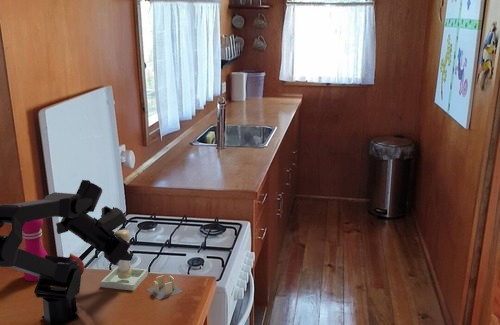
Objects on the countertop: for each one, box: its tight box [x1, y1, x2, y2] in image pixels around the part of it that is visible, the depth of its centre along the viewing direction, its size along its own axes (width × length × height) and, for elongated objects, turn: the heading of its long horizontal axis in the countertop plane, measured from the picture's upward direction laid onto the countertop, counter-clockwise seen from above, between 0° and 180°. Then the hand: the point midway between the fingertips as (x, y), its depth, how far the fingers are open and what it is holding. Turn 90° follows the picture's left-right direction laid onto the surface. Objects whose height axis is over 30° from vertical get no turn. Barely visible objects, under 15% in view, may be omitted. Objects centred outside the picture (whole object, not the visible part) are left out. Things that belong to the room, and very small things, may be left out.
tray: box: [100, 266, 149, 292], centre depth 133 cm, size 9×9×3 cm
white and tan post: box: [114, 229, 132, 279], centre depth 131 cm, size 4×4×12 cm
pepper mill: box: [22, 219, 48, 282], centre depth 136 cm, size 7×7×20 cm
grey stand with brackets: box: [146, 274, 184, 300], centre depth 127 cm, size 7×7×4 cm
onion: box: [68, 252, 85, 276], centre depth 135 cm, size 6×6×8 cm
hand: (128, 256), depth 132 cm, fingers closed on white and tan post, 3 cm apart
